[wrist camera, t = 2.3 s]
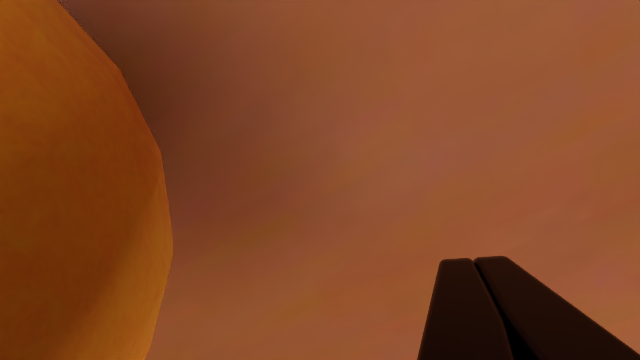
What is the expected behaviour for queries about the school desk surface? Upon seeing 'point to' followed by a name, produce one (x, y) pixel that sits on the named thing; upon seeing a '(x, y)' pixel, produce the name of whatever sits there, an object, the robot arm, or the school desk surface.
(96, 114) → the fruit
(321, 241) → the school desk surface
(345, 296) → the school desk surface
